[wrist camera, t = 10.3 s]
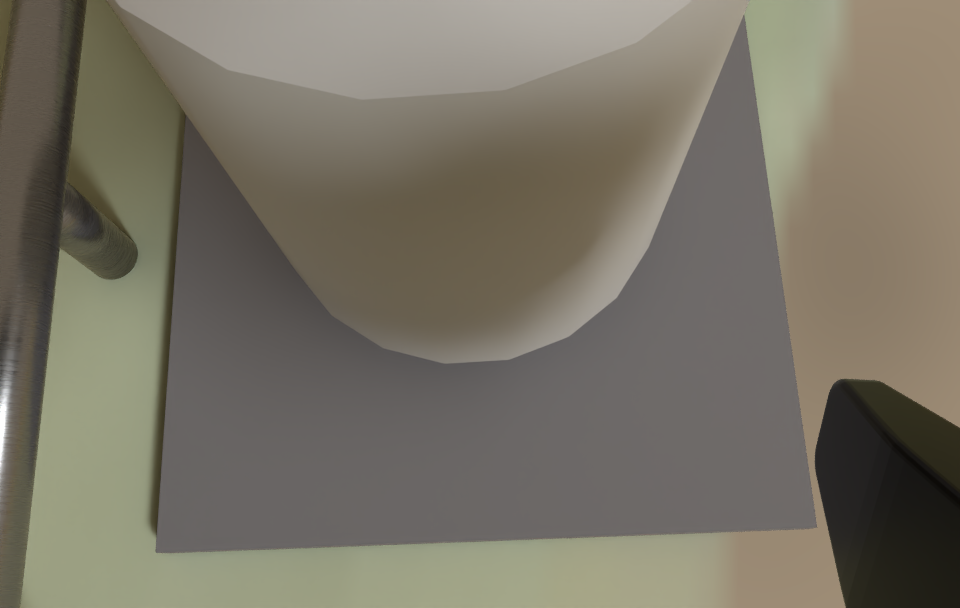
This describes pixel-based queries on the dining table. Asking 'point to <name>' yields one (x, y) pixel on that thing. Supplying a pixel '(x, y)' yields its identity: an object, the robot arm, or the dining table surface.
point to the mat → (490, 387)
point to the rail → (38, 243)
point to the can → (448, 148)
